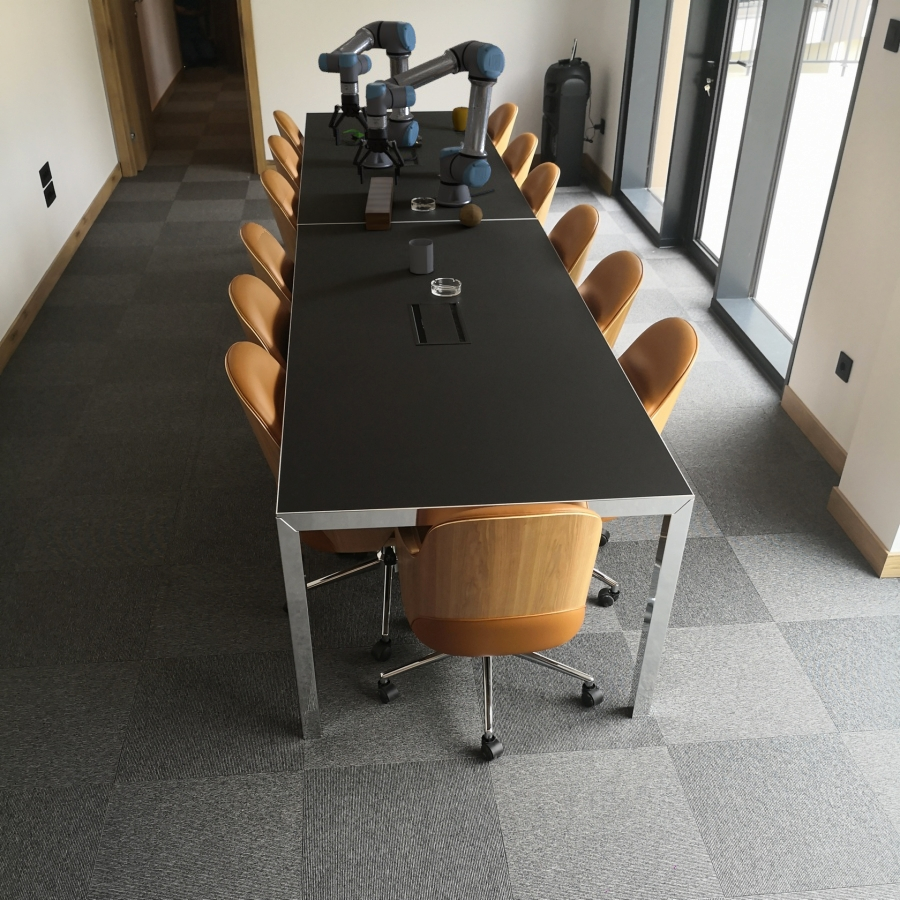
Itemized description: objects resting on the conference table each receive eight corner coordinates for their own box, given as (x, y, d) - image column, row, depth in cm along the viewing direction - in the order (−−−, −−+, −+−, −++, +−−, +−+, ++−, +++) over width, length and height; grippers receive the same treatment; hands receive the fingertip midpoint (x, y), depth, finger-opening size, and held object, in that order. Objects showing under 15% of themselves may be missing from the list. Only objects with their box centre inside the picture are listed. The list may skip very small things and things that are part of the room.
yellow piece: (471, 132, 486) (471, 108, 479) (451, 132, 486) (451, 108, 479) (470, 128, 495) (471, 104, 488) (452, 128, 495) (452, 104, 488)
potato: (480, 219, 356) (481, 200, 351) (484, 230, 344) (484, 210, 340) (457, 220, 355) (457, 200, 351) (459, 231, 343) (459, 211, 339)
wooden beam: (372, 192, 388) (371, 177, 385) (393, 192, 388) (392, 177, 385) (366, 230, 345) (365, 212, 341) (390, 229, 345) (389, 212, 342)
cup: (409, 265, 311) (408, 238, 306) (432, 265, 312) (431, 238, 307) (410, 274, 304) (409, 246, 299) (433, 273, 305) (433, 246, 299)
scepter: (397, 126, 468) (342, 124, 466) (397, 141, 461) (341, 139, 459) (397, 135, 473) (342, 133, 471) (397, 150, 466) (341, 148, 463)
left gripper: (318, 93, 362) (322, 145, 373) (374, 96, 356) (376, 150, 367) (325, 90, 368) (329, 142, 379) (381, 93, 362) (382, 146, 373)
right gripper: (342, 128, 326) (346, 185, 337) (408, 130, 323) (409, 187, 335) (346, 124, 332) (350, 180, 343) (411, 125, 330) (412, 182, 341)
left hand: (352, 146), depth 373 cm, fingers open, 13 cm apart
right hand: (379, 183), depth 339 cm, fingers open, 13 cm apart
